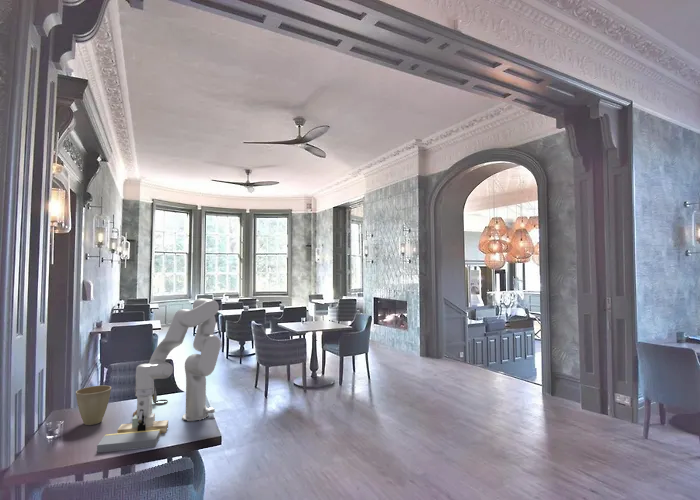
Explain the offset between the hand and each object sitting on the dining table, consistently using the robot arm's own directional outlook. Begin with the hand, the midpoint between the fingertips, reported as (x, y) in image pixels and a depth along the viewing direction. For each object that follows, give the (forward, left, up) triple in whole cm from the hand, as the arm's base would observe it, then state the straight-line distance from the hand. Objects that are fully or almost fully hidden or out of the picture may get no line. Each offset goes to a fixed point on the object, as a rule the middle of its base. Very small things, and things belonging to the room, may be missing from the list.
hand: (143, 430), depth 189 cm
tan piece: (0, 0, -1) cm, 1 cm away
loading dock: (+3, +12, -1) cm, 13 cm away
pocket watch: (+1, -42, -1) cm, 42 cm away
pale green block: (+2, 0, +2) cm, 3 cm away
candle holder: (+6, -26, -1) cm, 27 cm away
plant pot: (+27, -20, -1) cm, 34 cm away
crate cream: (-2, 0, +2) cm, 3 cm away
